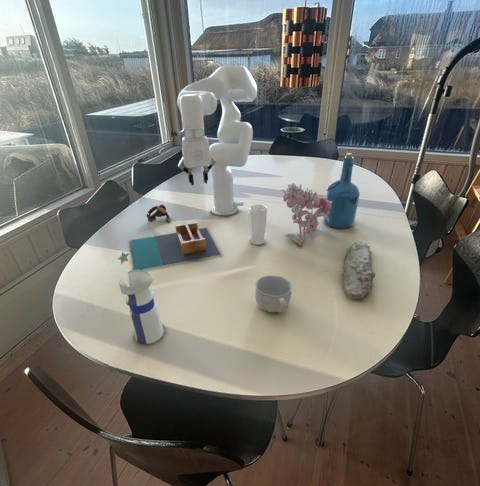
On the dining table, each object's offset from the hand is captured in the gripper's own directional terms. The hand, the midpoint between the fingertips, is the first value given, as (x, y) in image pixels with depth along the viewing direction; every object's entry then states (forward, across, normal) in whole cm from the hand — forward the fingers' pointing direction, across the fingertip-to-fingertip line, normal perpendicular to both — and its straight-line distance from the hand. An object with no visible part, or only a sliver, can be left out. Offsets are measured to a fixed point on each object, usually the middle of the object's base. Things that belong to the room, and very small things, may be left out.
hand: (198, 182), depth 126 cm
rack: (+22, -7, -8) cm, 24 cm away
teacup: (+23, +9, -55) cm, 60 cm away
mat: (+22, -14, -8) cm, 28 cm away
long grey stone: (+23, +44, -47) cm, 68 cm away
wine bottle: (+23, +59, -11) cm, 64 cm away
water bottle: (+23, -28, -53) cm, 64 cm away
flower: (+23, +40, -15) cm, 48 cm away
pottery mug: (+23, -16, +20) cm, 34 cm away
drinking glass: (+23, +19, -15) cm, 33 cm away
